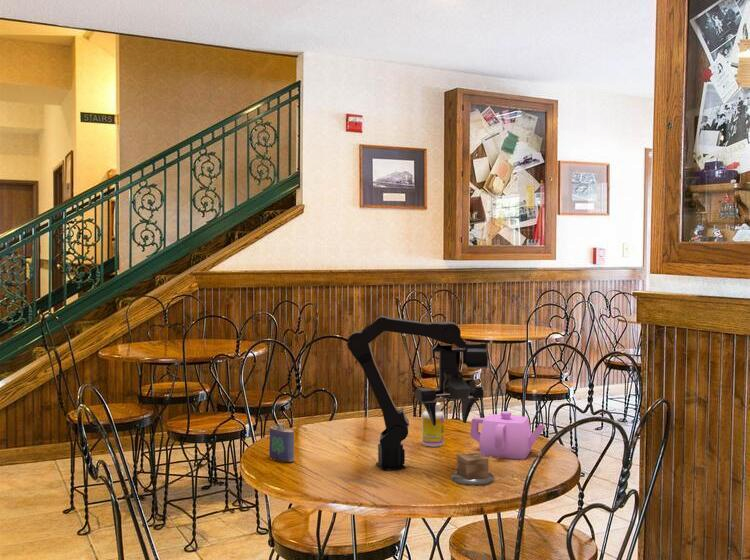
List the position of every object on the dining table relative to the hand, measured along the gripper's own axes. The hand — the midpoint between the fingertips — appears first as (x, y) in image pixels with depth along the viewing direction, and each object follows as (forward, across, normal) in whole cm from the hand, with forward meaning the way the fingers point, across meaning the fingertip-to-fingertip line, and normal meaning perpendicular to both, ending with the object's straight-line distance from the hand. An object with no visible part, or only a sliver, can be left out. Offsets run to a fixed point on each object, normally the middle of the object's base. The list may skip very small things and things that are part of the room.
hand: (449, 424), depth 201 cm
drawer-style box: (+11, +1, -12) cm, 16 cm away
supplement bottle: (+12, +6, +24) cm, 28 cm away
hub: (+12, +1, -12) cm, 17 cm away
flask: (+12, -42, +23) cm, 49 cm away
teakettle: (+12, +23, +8) cm, 27 cm away
